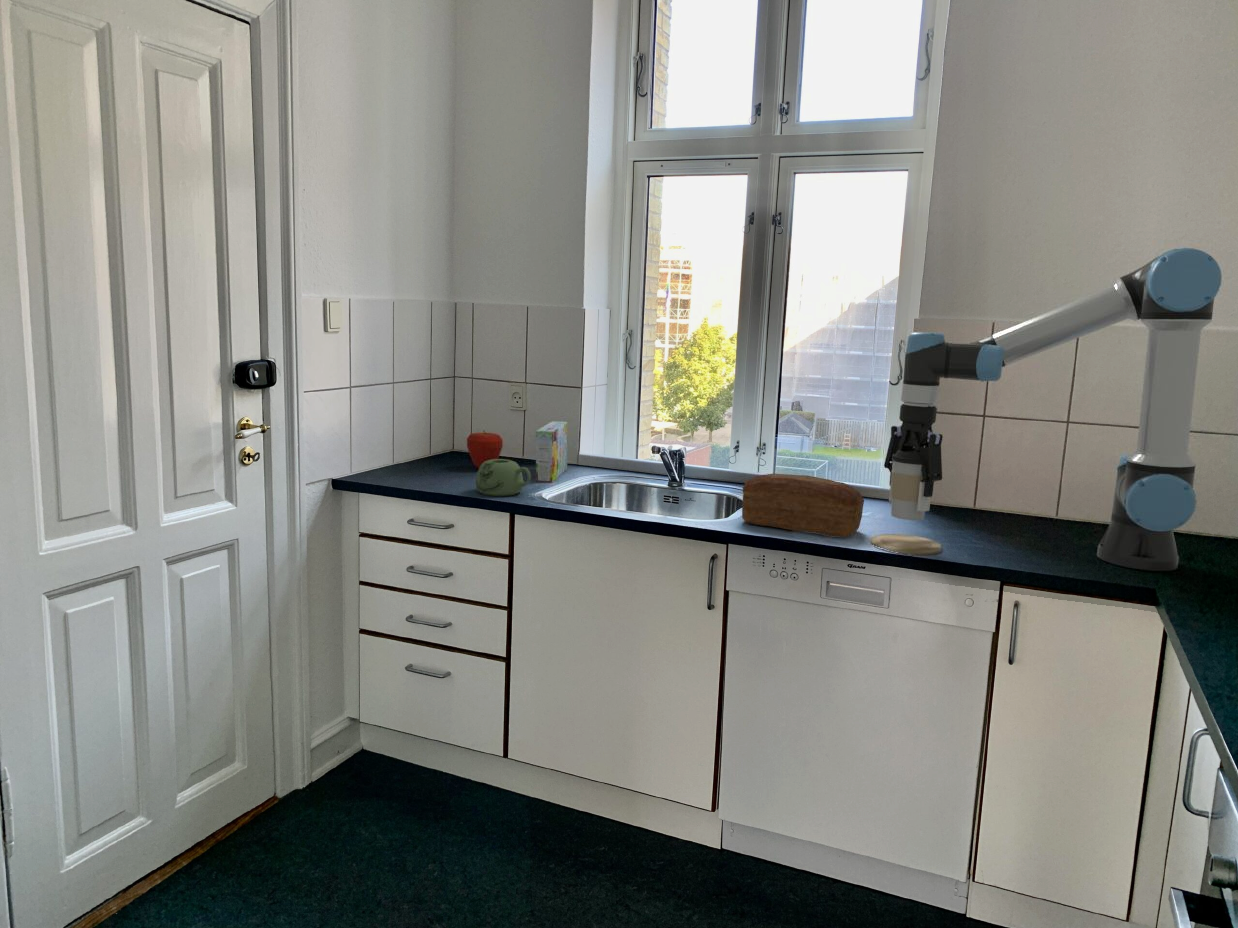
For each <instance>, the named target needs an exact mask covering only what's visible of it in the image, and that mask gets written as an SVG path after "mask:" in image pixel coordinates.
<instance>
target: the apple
mask: <svg viewBox="0 0 1238 928" xmlns="http://www.w3.org/2000/svg"><path fill="white" fill-rule="evenodd" d="M503 444H504V443H503V438H502V437H501V435H500V434H497V433H493V432H485V430H483V432H474V433H470V434H469V435H468V437H467V438H466V447H467V450H468V453H469V456H470V458H471V461H472V463H473V465H474V466H475V467H476V468H477V470H479V468H480V466H481V465H482V464H483V463H484V462H485V461H488V460H492V459H499V457H500V455H501V453H502V449H503V447H504V445H503Z"/></svg>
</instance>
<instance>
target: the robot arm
mask: <svg viewBox="0 0 1238 928" xmlns="http://www.w3.org/2000/svg"><path fill="white" fill-rule="evenodd" d="M1222 276H1223V275H1222V270H1221V268H1220V265H1219V263H1218V262H1217V260H1216V259H1215V258H1214V257H1212V255H1210V254H1209V253H1208V252H1206V251H1203V250H1200V249H1196V248H1190V247H1189V248H1188V247H1183V248H1174V249H1171V250H1168V251H1166V252H1164V253H1162V254H1161V255H1158V256H1157V257H1154V259H1152V260H1151V261H1149V262H1147V263H1146V264H1143V266H1141V267H1139V268H1137V269H1136V270H1133V271H1132V272H1130V273H1127V274H1125V275H1123V276H1120V277H1118V278H1116V281H1115V283H1114V284H1113V285H1110V286H1109V287H1106V288H1104V289H1101V290H1098V291H1096V292H1094V293H1092V294H1089V295H1086V296H1084V297H1082V298H1079V299H1077V300H1074V301H1072V302H1070V303H1067V304H1065V305H1064V304H1063V305H1062V306H1059V307H1057V308H1054V309H1051V310H1050V311H1047V312H1045V313H1043V314H1039V315H1038V316H1034V317H1033V318H1030V319H1027V320H1025V321H1023V322H1020V323H1018V324H1016V325H1013V326H1010V327H1008V328H1006V329H1004V330H1000V331H998V332H995V333H993V334H992V335H989V336H986V337H983V338H981V339H978V340H976V341H971V342H970V343H953V342H946V339H945V335H944V333H941V332H940V333H939V332H925V331H924V332H923V331H914V332H911V333H910V334H909V335H908V336H907V342H906V343H907V344H906V349H905V352H904V353H905V355H904V367H903V380H902V387H901V396H900V401H901V402H902V404H901V405H900V407H899V409H900V410H899V421H901V422H902V424H901V425H892V426H891V427H890V439H889V443H888V448H887V452H886V456H885V459H884V465H883V468H885V469H888V471H889V473H890V475H889V486H890V487H889V495H888V496H889V497H888V502H889V503H892V497H891V476H892V462H893V460H892V455H893V454H896V453H897V451H898V450H901V451H910V450H911V449H912V448H915V451H916V452H917V453H918V454H919V455H920V459H921V460H922V467H921V472H922V477H923V479H922V480H920V486H919V495H918V505H917V511H919V512H921V511H925V512H929V511H930V507H931V500H932V499H931V497H933V493H934V485H935V482H938V481H942V479H943V462H942V442H943V434H942V433H934V431H933V427H932V425H933V424H935V423H936V420H937V413H938V411H937V410H938V408H937V406H936V404H938V401H939V399H938V398H939V391H940V390H939V389H940V381H941V378H942V379H953V380H966V381H979V382H997V381H999V380H1001V377H1002V369H1003V368H1005V367H1006V366H1009V365H1011V364H1014V363H1016V362H1019V361H1021V360H1024V359H1027V358H1030V357H1032V356H1036V355H1037V354H1038V355H1039V354H1040V353H1043V352H1046V351H1047V350H1050V349H1053V348H1056V347H1059V346H1061V345H1063V344H1066V343H1069V342H1071V341H1074V340H1076V339H1080V338H1081V337H1084V336H1087V335H1090V334H1091V333H1094V332H1098V331H1100V330H1102V329H1105V328H1108V327H1110V326H1112V325H1113V326H1114V325H1115V324H1118V323H1120V322H1123V321H1125V320H1132V321H1138V320H1140V322H1141V323H1143V325H1144V326H1145V327H1146V328H1147V330H1148V333H1147V343H1146V354H1145V355H1146V356H1145V361H1144V362H1145V364H1144V375H1143V376H1144V377H1143V384H1142V393H1141V404H1140V413H1139V421H1138V422H1139V423H1138V433H1137V434H1138V435H1137V443H1136V450H1135V452H1133V453H1132V454H1123V455H1122V456H1120V458H1119V460H1118V465H1117V466H1116V471H1117V473H1116V481H1115V488H1114V495H1113V502H1112V509H1111V510H1112V511H1111V518H1110V522H1109V524H1108V527H1107V529H1106V531H1105V532H1104V534H1103V536H1102V538H1101V539H1100V542H1099V543H1098V545H1097V552H1096V556H1097V558H1099V559H1100V560H1102V561H1104V562H1107V563H1110V564H1113V565H1116V566H1120V567H1125V568H1129V569H1135V570H1143V571H1153V572H1154V571H1155V572H1166V571H1167V572H1168V571H1174V570H1177V569H1178V566H1179V560H1180V558H1179V557H1180V556H1179V554H1178V549H1177V545H1176V544H1177V543H1176V540H1175V535H1174V530H1176V529H1178V528H1180V527H1182V526H1184V525H1185V524H1187V522H1189V520H1191V518H1192V517H1193V516H1194V514H1195V511H1196V508H1197V499H1196V497H1197V496H1196V493H1195V490H1194V482H1195V474H1196V473H1195V472H1196V464H1197V463H1196V462H1195V461H1194V460H1193V459H1192V458H1191V457H1190V456H1189V453H1188V451H1189V443H1190V434H1191V433H1190V432H1191V423H1192V417H1193V416H1192V415H1193V405H1194V398H1195V390H1196V389H1195V387H1196V381H1197V379H1196V377H1197V371H1198V370H1197V369H1198V362H1199V361H1198V359H1199V353H1200V352H1199V351H1200V345H1201V344H1200V342H1201V335H1202V331H1203V329H1204V328H1205V327H1207V325H1209V324H1210V323H1211V322H1212V320H1213V314H1214V313H1213V312H1214V303H1215V298H1216V296H1217V295H1218V293H1219V292H1220V288H1221V285H1222ZM928 474H929V476H928Z"/></svg>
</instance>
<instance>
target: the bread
mask: <svg viewBox="0 0 1238 928" xmlns="http://www.w3.org/2000/svg"><path fill="white" fill-rule="evenodd" d="M864 504H865V499H864V497H863V496H862V494H861V492H860V491H859V490H857V489H855V488H854V487H853V486H851V485H850V484H847V483H844V482H841V481H836V480H832V479H829V478H822V477H817V476H813V475H807V474H806V475H805V474H803V475H802V474H787V473H786V474H784V473H767V474H760V475H756V476H752V477H750V478H749V479H747V481H745V483H744V484H743V485H742V505H741V506H742V507H741V517H742V520H743V521H744V522H745V523H748V524H753V525H757V526H766V527H773V528H780V529H784V530H789V531H796V532H805V533H806V532H807V533H812V534H818V535H823V536H827V537H836V538H846V537H850V536H852V535H853V534H854V533H856V532H857V531H858V530H859V528H860V525H861V521H862V519H863V512H864V511H863V510H864Z"/></svg>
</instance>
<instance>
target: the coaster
mask: <svg viewBox="0 0 1238 928" xmlns="http://www.w3.org/2000/svg"><path fill="white" fill-rule="evenodd" d="M870 544H871V546H873V545H874V546H877V547H880V548H883V549H886V550H889V551H893V552H898V553H903V554H902V555H906V554H911V555H910V556H932V555H937V554H939V553H941V551H942V545H941V543H940V542H938V541H935V540H933V539H930V538H926V537H923V536H922V537H921V536H917V535H910V534H901V533H883V534H877V535H873V536H872V537H870ZM874 546H873V547H874ZM893 552H892V553H893ZM898 553H897V554H898Z"/></svg>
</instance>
